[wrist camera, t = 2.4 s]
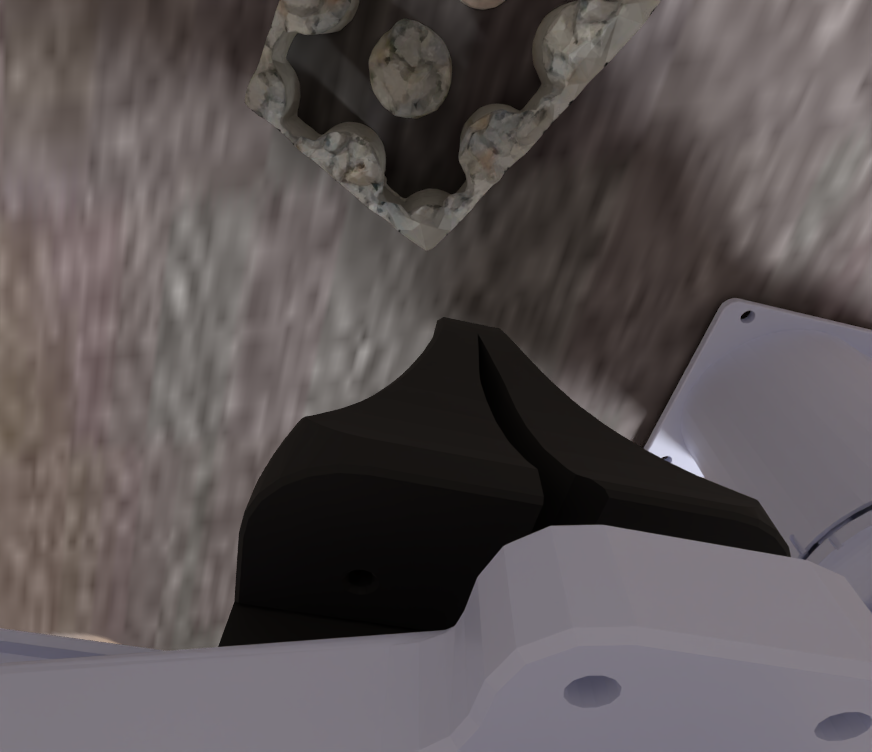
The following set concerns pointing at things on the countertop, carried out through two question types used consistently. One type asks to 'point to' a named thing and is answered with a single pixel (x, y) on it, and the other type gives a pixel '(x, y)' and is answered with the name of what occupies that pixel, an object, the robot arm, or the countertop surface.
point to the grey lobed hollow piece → (436, 100)
